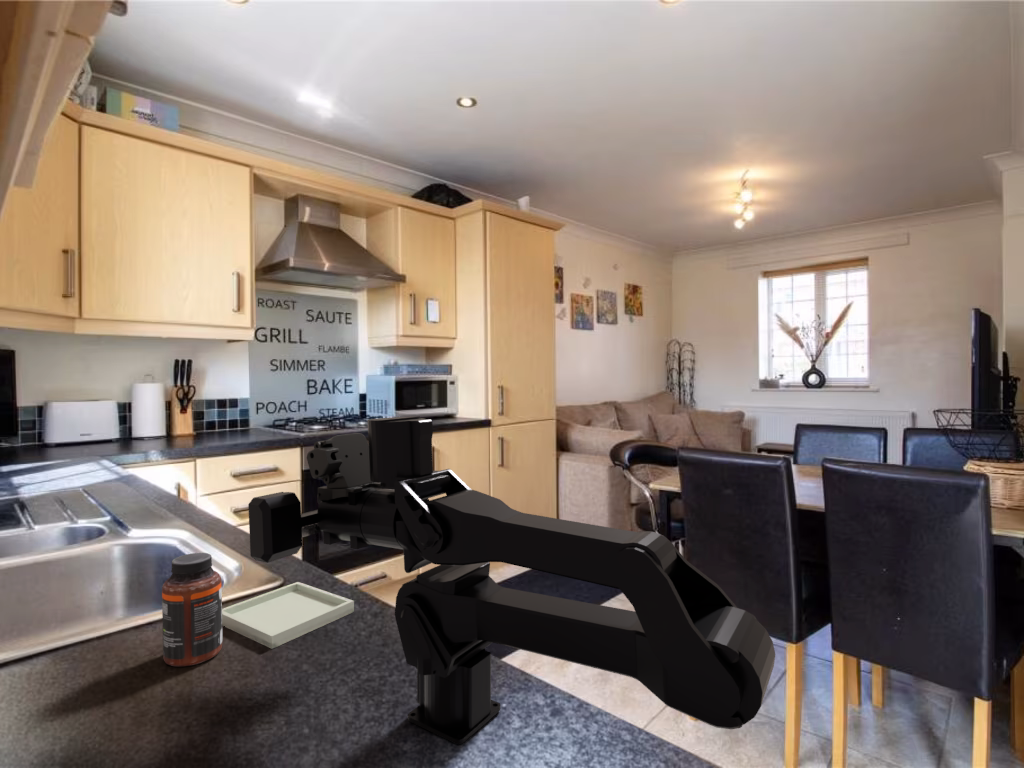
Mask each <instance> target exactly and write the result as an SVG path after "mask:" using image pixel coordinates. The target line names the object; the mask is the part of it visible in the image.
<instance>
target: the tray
mask: <svg viewBox="0 0 1024 768" xmlns="http://www.w3.org/2000/svg"><path fill="white" fill-rule="evenodd" d="M354 612H355V600H352V599H349V598H347V597H343V596H341V595H339V594H335V593H333V592H332V593H331V592H329V591H326V590H324V589H320V588H317V587H315V586H311V585H308V584H306V583H302V582H300V581H296V582H294V583H291V584H288V585H284V586H282V587H280V588H277V589H274V590H271V591H269V592H266V593H263V594H260V595H258V596H254V597H252V598H249V599H246V600H244V601H240V602H237V603H235V604H232V605H229V606H226V607H224V608H223V607H222V627H224V626H225V627H224V628H226V629H229V630H230V631H233V632H235V633H236V634H237V633H238V634H239V635H241V636H243V637H246V638H248V639H249V640H251V641H255V642H256V643H258V644H261V645H263V646H265V647H267V648H270V649H271V650H273V649H275V648H277V647H279V646H281V645H283V644H286V643H289V642H292V641H293V640H295V639H297V638H300V637H301V636H305V635H306V634H309V633H310V632H312V631H314V630H317V629H319V628H322V627H324V626H326V625H328V624H330V623H333V622H335V621H337V620H339V619H342V618H343V617H346V616H348V615H350V614H352V613H354Z"/></svg>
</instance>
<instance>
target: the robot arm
mask: <svg viewBox="0 0 1024 768" xmlns="http://www.w3.org/2000/svg"><path fill="white" fill-rule="evenodd" d="M433 426H434V425H433V421H432V419H431V418H430V419H429V418H428V419H426V418H421V417H420V416H416V415H415V416H397V417H396V416H394V417H381V418H371V419H370V418H369V419H367V437H366V436H365V435H364V434H363V433H361V432H354V433H346V434H338V435H334V436H332V437H331V438H329V439H326V440H320V441H315V442H314V443H313V449H312V450H310V451H308V453H307V455H306V461H307V465H308V469H309V473H310V475H311V477H312V478H313V479H315V480H317V479H321V480H322V481H323V483H324V484H325V485H323V486H320V487H317V497H316V498H317V501H316V502H317V503H318V507H317V509H315V510H311V511H308V512H304V513H302V505H301V501H300V500H299V497H298V496H297V494H296V493H295V492H291V491H285V492H284V491H280V492H276V493H275V492H274V493H270V494H266V495H259V496H256V497H252V499H251V500H250V501H249V503H248V525H249V526H248V529H249V546H250V547H249V549H250V550H249V551H250V557H251V558H252V559H253V560H255V561H258V562H261V563H266V564H267V563H272V562H274V561H278V560H280V559H284V558H287V557H291V556H294V555H297V554H298V553H299V551H300V550H301V548H302V547H303V538H305V537H309V536H312V535H315V534H319V533H323V544H324V545H334V544H336V543H340V542H343V541H345V542H349V543H350V544H349V546H350V549H353V550H359V549H363V548H365V547H368V546H371V545H373V546H379V547H385V548H393V549H398V550H402V551H403V563H404V564H403V569H404V572H405V573H406V574H410V573H413V572H414V571H417V570H420V569H422V568H424V567H426V566H429V565H430V564H433V565H437V566H433V568H430V569H428V570H425V571H424V572H421V573H419V574H417V575H415V577H416V578H413V579H410V580H409V581H407V582H404V583H403V584H402V585H401V587H400V588H399V589H398V591H397V595H396V597H395V606H394V607H395V608H394V616H395V622H396V626H397V631H398V634H399V639H400V642H401V646H402V650H403V654H404V657H405V661H406V664H408V665H409V666H412V667H415V668H416V702H417V704H419V705H418V706H416V707H415V708H414V709H413V710H411V711H410V712H408V713H407V721H408V722H409V723H411V724H414V725H416V726H417V727H420V728H422V729H424V730H426V731H428V732H430V733H432V734H434V735H437V736H439V737H441V738H443V739H445V740H447V741H449V742H451V743H454V744H456V745H462V744H464V743H465V742H466V741H467V740H468V739H469V738H470V737H472V736H473V735H474V734H475V733H476V732H477V731H479V730H480V729H481V728H482V727H483V726H484V725H486V723H488V722H489V721H490V720H491V719H492V718H493V717H494V716H496V715H497V714H498V713H500V711H501V703H500V702H499V701H495V700H493V699H492V653H491V652H490V651H488V650H486V648H487V647H489V646H491V644H498V645H500V646H504V647H509V648H513V649H517V650H520V651H526V652H529V653H532V654H536V655H540V656H546V657H548V658H553V659H557V660H560V661H564V662H565V661H566V662H569V663H573V664H577V665H582V666H584V667H589V668H592V669H597V670H601V671H604V672H605V671H606V672H609V673H611V674H612V673H613V674H617V675H621V676H624V677H625V676H626V677H629V678H631V679H634V680H636V681H638V682H640V683H641V684H642V685H643V686H644V687H645V688H646V689H648V690H649V691H650V692H651V693H652V694H653V695H654V696H655V697H656V698H658V700H660V701H661V702H662V703H663V705H665V706H667V707H668V708H671V709H673V710H674V711H678V712H680V713H682V714H684V715H686V716H688V717H691V718H693V719H695V720H698V721H699V722H702V723H704V724H707V725H709V726H710V727H711V726H712V727H714V728H718V729H725V730H726V729H727V730H737V729H741V728H742V727H743V726H744V725H746V724H747V723H749V722H750V721H752V720H753V719H754V718H756V716H757V714H758V712H759V711H760V709H761V707H762V704H763V701H764V698H765V695H766V692H767V688H768V685H769V682H770V680H771V676H772V673H773V670H774V667H775V660H776V651H775V646H774V645H775V644H774V641H773V639H772V638H771V636H770V633H769V632H768V630H767V629H766V628H765V626H763V625H762V624H761V623H760V622H759V620H758V619H757V618H756V616H755V615H754V614H753V613H751V612H749V611H747V610H745V609H742V608H739V607H738V606H737V605H736V604H735V603H734V601H732V599H731V598H730V597H729V596H728V594H727V593H726V592H725V591H724V590H723V589H722V587H720V585H718V584H717V583H716V582H715V580H713V579H711V578H710V577H708V576H707V575H706V574H705V573H704V572H702V571H701V570H700V569H699V568H697V567H696V566H694V565H693V564H692V563H690V562H689V561H688V560H687V559H686V558H685V557H684V556H683V555H682V553H681V552H680V550H678V548H677V547H676V546H675V545H674V543H672V541H671V540H669V539H668V538H667V537H666V536H665V535H662V534H661V533H658V532H654V531H649V530H647V531H640V532H639V531H632V530H627V529H621V528H615V527H610V526H603V525H598V524H597V525H596V524H591V523H586V522H585V523H584V522H578V521H574V520H567V519H560V518H555V517H549V516H543V515H537V514H531V513H525V512H522V511H519V510H517V509H513V508H511V507H510V506H509V505H508V504H506V503H505V502H504V501H503V500H501V499H499V498H497V497H494V496H492V495H489V494H486V493H485V492H480V491H479V490H474V489H472V488H471V487H470V486H468V485H467V484H466V482H465V481H463V480H462V479H461V478H460V477H459V476H458V475H457V474H456V473H455V472H454V471H453V470H452V469H451V468H447V469H442V470H441V469H440V470H434V465H433V464H434V462H433V460H434V459H433V441H432V440H433V434H434V433H433V431H434V430H433V429H434V428H433ZM367 438H368V439H367ZM445 494H446V495H445ZM441 495H444V496H441ZM438 496H441V497H438ZM435 497H437V498H435ZM430 498H434V499H430ZM491 563H503V564H508V565H512V566H513V565H514V566H518V567H521V568H525V569H530V570H533V571H538V572H543V573H548V574H552V575H555V576H560V577H564V578H568V579H569V578H570V579H572V580H577V581H581V582H586V583H591V584H595V585H599V586H604V587H608V588H612V589H617V590H620V591H621V593H622V594H623V595H624V596H625V598H626V599H627V600H628V602H629V603H630V604H631V605H632V607H633V609H634V611H633V610H629V609H623V608H619V607H611V606H607V605H601V604H596V603H590V602H585V601H579V600H574V599H568V598H564V597H557V596H552V595H547V594H541V593H535V592H531V591H525V590H519V589H514V588H509V587H504V586H501V585H500V584H498V583H497V582H495V580H494V579H493V578H492V577H491V576H490V571H491V570H490V568H491Z"/></svg>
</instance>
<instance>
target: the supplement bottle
mask: <svg viewBox="0 0 1024 768" xmlns="http://www.w3.org/2000/svg"><path fill="white" fill-rule="evenodd" d="M212 558H213V557H212V555H211V554H210V553H207V552H195V553H192V552H191V553H188V554H183V555H180V556H177V557H175V558H174V559H172V561H171V570H170V571H171V576H170V577H169V578H167V579H166V580H165V581H164V583H163V584H162V587H161V610H162V611H161V612H162V613H161V615H162V621H161V622H162V655H163V661H164V662H165V664H166V665H168V666H172V667H180V668H181V667H190V666H196V665H199V664H201V663H203V662H206V661H208V660H211V659H212V658H214V657H216V655H218V654H219V653H220V651H221V650H222V647H223V626H222V609H223V605H222V603H223V597H222V592H223V591H222V577H221V574H220V573H218V572H217V571H216V570H214V569H213V567H212V566H213V563H212V562H213V559H212Z"/></svg>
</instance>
